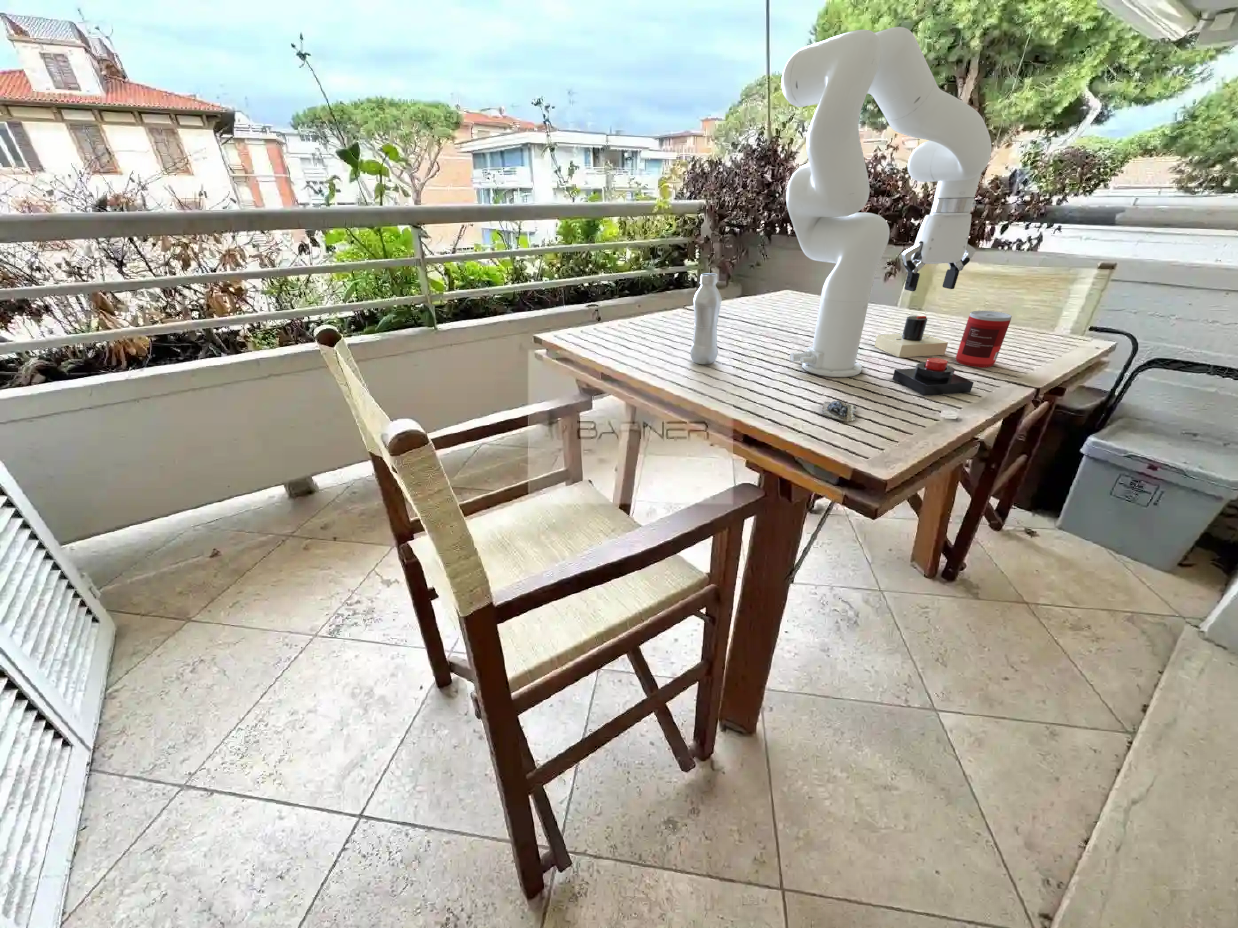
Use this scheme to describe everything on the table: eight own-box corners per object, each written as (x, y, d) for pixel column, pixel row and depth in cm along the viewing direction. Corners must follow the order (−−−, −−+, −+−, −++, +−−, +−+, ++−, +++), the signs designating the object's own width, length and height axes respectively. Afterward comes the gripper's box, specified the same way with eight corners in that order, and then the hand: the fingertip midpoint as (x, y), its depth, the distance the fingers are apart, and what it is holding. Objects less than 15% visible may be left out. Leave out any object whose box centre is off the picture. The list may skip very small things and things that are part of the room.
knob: (909, 341, 118) (915, 319, 115) (897, 336, 121) (903, 315, 119) (925, 340, 118) (932, 318, 115) (914, 335, 122) (919, 314, 119)
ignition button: (932, 372, 96) (935, 363, 95) (920, 366, 99) (923, 358, 98) (949, 371, 96) (952, 362, 95) (936, 365, 99) (939, 357, 98)
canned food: (982, 357, 115) (998, 310, 109) (1001, 368, 108) (1020, 318, 102) (948, 357, 115) (962, 310, 110) (965, 368, 108) (982, 318, 103)
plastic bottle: (686, 365, 114) (690, 276, 104) (693, 357, 120) (698, 272, 110) (713, 368, 112) (720, 277, 102) (719, 360, 118) (726, 272, 108)
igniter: (923, 396, 94) (929, 376, 92) (891, 379, 103) (896, 361, 101) (970, 392, 95) (977, 373, 93) (935, 376, 104) (940, 358, 102)
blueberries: (850, 404, 91) (852, 395, 90) (868, 421, 84) (871, 411, 83) (814, 405, 92) (816, 395, 91) (829, 422, 85) (831, 412, 84)
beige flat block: (898, 357, 116) (902, 344, 115) (874, 346, 125) (877, 334, 123) (944, 354, 117) (948, 342, 116) (917, 344, 126) (920, 332, 125)
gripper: (974, 205, 110) (951, 285, 118) (903, 208, 108) (885, 288, 116) (1001, 206, 103) (974, 290, 111) (925, 209, 102) (904, 294, 110)
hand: (928, 289), depth 114 cm, fingers open, 9 cm apart
